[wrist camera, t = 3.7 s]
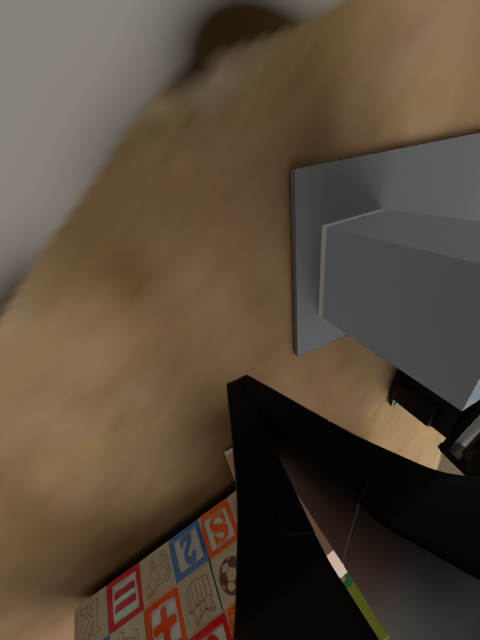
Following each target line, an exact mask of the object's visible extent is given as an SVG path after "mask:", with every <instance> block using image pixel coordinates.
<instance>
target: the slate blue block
mask: <svg viewBox="0 0 480 640" xmlns="http://www.w3.org/2000/svg"><path fill="white" fill-rule="evenodd" d="M318 315H319V316H321V317H322V318H324V319H325V320H327V321H328V322H330V323H331V324H333V325H334V326H336V327H337V328H339V329H340V330H342V331H343V332H345V333H346V334H348V335H349V336H351V337H352V338H353V339H355V340H356V341H358V342H359V343H361V344H362V345H364V346H365V347H367V348H368V349H370V350H371V351H373V352H374V353H376V354H377V355H379V356H380V357H382V358H383V359H385V360H386V361H388V362H389V363H391V364H392V365H394V366H395V367H397V368H398V369H400V370H401V371H403V372H404V373H406V374H407V375H409V376H410V377H412V378H413V379H415V380H416V381H418V382H419V383H421V384H422V385H424V386H425V387H427V388H428V389H430V390H431V391H433V392H434V393H436V394H437V395H439V396H440V397H442V398H443V399H445V400H446V401H448V402H449V403H451V404H452V405H453V406H455V407H456V408H458V409H459V410H461V411H463V410H465V409H466V408H468V407H469V406H471V405H472V404H474V403H475V402H477V401H478V400H480V221H474V220H466V219H458V218H450V217H442V216H434V215H426V214H418V213H410V212H402V211H394V210H386V209H380V210H376V211H373V212H369V213H365V214H362V215H358V216H355V217H351V218H348V219H344V220H341V221H337V222H333V223H330V224H326V225H323V226H322V238H321V263H320V288H319V314H318Z"/></svg>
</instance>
